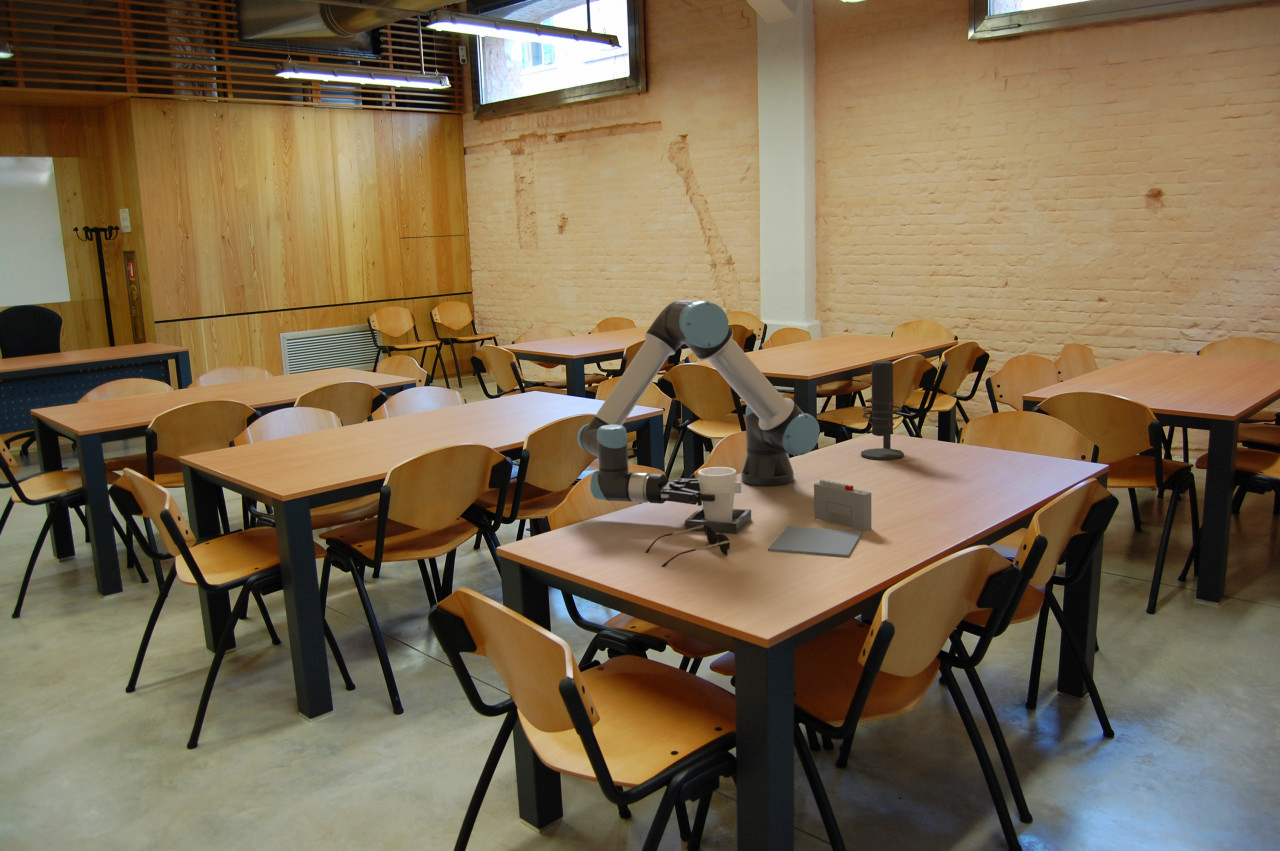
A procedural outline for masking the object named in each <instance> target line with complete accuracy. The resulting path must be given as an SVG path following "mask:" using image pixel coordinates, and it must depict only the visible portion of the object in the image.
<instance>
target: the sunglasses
mask: <svg viewBox="0 0 1280 851" xmlns="http://www.w3.org/2000/svg"><path fill="white" fill-rule="evenodd" d="M703 527H704V529H705V532H704V535H705V536H706V539H707V543H708V544H709V545H707V546H702V547H699V548H693V549H689V550H685V551H682V552H679V553H676V554H675V555H673V556H672V557H671V558H669V559H668V560H667V561H665V563H663V564H662V565H661V566H660V567H661V568H663V567H664V568H665V567H666V566H667V565H668V564H669V563H670V562H671V561H673V560H674V559H675V558H677V557H678V556H681V555H684V554H688V553H691V552H696V551H700V550H704V549H708V548H711V547H713V548H715V547H716V546H717V547H719V550H720V552H721V553H722V554H723V555H725V556H726V557H728V556H729V550H730V549H731V548H730V547H731V546H730V544H731V539H730V538H729V537H728V536H727V535H725V533H716V531H715V530H714V529H713V528H712V527H711V526H710V525H707V524H704V525H702V526H698V527H695V528H691V529H688V530H685V529H684V530H679V531H674V532H670V533H667V534H663V535H660V536H659V537H657V538H655V540H653V542H652V543H651V544H650V545H649V546H648V548H647V549H646V550H645V553H644V554H648V553H649V552H650V550H651V548H652V547H653V546H654V545H655V543H657V542H658V540H660V539H662V538H665V537H668V536H673V535H676V534H681V533H685V532H688V531H689V530H693V529H699V528H703ZM689 532H690V531H689Z"/></svg>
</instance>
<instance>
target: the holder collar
mask: <svg viewBox="0 0 1280 851" xmlns="http://www.w3.org/2000/svg"><path fill="white" fill-rule="evenodd" d="M704 519H705V515H704V509H703V506H700V508H698V509H697V510H695V511H694V512H693V513H692V514H691V515H690V516H688V517H687V518H686V519H684V530H688V529H691V528H695V527H698V526H702V525H704V524H707V525H710V526H711V527H712V528H713V529H714V530H715V531H716V533H717V534H730V535H731V534H732V535H737V534H738V533H739V532H740V531H741V530H742V529H744V527H745V526H746V525H747V524H748V523H749V522H751V520H752V509H747V508H734V507H733V513H732V520H734V521H733V522H732V521H731V522H718V521H706V520H704ZM689 532H704V533H705V529H704V527H703V528H699V529H693V530H689Z"/></svg>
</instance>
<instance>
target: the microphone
mask: <svg viewBox="0 0 1280 851" xmlns="http://www.w3.org/2000/svg"><path fill="white" fill-rule="evenodd" d="M894 403H895V402H894V363H893V361H890V360H889V361H888V360H877V361H872V363H871V400H870V404H869V405H867V406H864V407H862V409H861V410H862V411H863V412H864V413H863V414H862V418H865V419H866V420H869V423H870V426H871V434H872V436H875V437H883V438H882V444H883V445H882V446H883V447H882V448H880V447H879V448H877V447H876V448H868V449H864V450H862V451H860V456H861V457H863V458H865V459H868V460H878V461H881V460H882V461H886V460H888V461H889V460H897V459H900V458H903V457H904V455H905V452H903V451H902V450H901V449H895V448H892V447H891V435H892V434H893V433H894V425H895V422H896V420H898V419H900V418H902V417H903V416H902V414H901V413H900V412H901V411H903V410H902V407H901V406H898V405H897V404H895V405H894ZM870 409H871V410H870ZM867 415H870V416H871V417H869V416H867ZM894 415H895V416H894ZM894 420H895V421H894Z"/></svg>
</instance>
